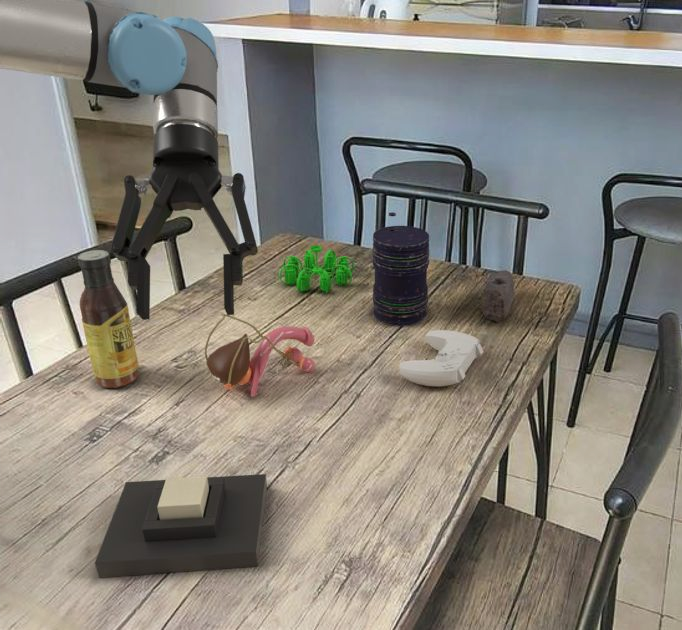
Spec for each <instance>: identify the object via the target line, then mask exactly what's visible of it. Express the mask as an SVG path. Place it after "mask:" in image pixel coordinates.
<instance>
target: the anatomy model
mask: <svg viewBox="0 0 682 630" xmlns="http://www.w3.org/2000/svg"><path fill="white" fill-rule="evenodd" d="M220 316H221V317H222V318H221V319H220V320H219V321H217V323H216V324H215V326H214V327H213V328H212V330H211V331H210V333H209V334H208V337H207V339H206V343H205V347H204V357H205V360H206V366H207V368H208V370H209V374H210V375H211V376H212V377H213V378H214V379H215V380H217V381H218V382H219V383H221V384H223V388H224V389H227V390H233V388H234V387H235V386H236V385H237V384H238V385H239V386H243V385H246V384H247V383H248V384H249V385H250V386H251V389H250V397H251V398H253V397H256V396H257V394H258V389H259V388H258V387H259V383H260V381H261V379H262V378H263V376H264V374H265V371H266V368H267V365H268V362H269V358H270V356H271V353H272V351H273V350H274V351H275V352H277V353H278V355H280V356H281V359H279V360H278V361H277V363H278V364H280V365H281V367H282V368H285V367H286V365H287V364H288V363H291V364H292V365H294V366H296V367H297V368H298V369H299V370H301V371H304V372H307V373H311V372H313V371H314V370H315V367H316V364H315V362H314V360H313V359H311V358H310V357H307V356H306V357H304V356H303V352H302V350H300V349H299V348H298V347H295V346H288V347H286V348H285V350H284V352H283V351H281V350H279V349H278V348H277V347H276V346H277V345H278V344H279V343H280V342H281V341H283V340H293V341H298V342H299V343H301V344H303V345H305V346H307V347H312V346H313V345H314V344H315V341H316V339H315V336H314V335H313V333H312V331H310V329H309V328H308V327H307V326H301V327H296V326H291V325H287V326H281V327H277V328H275V329H273V330H271V331H269V332H268V333H267V334H266V335H263V334H262V333H261V332H260V331H259V330H258V329H257V328H256V326H255V325H253V324H251V323H250V322H248V321H246V320H243V319H240V318H238V317H236V316H234V315H227V313H220ZM226 317H228V318H230V319H233V320H236V321H238V322H240V323H243V324H245V325H247V326H249V327H251V328H253V330H254V331H255V332H256V333H257V334H258V335H259V336H260V338H259V339H258V340H254V339H252V338H251V337H250V336H248V334H247V333H244V334H243V335H242V336H241V337H239V338H238V339H235V340H233V341H231V342H229V343H226V344H224V345H221V346H220V347H218V348H217V349H216V350H214V351H213V352H212V353H210V354H209V355H208V345H209V342H210V339H211V337H212V335H213V333H214V331H216V329H217V328H218V326H219V325H220V323H222V322H223V321H224V320H225V319H226ZM250 342H252V343H253V344H259V345H258V346H257V347H256V349H255V350H254V352H253V354H252V355H251V350H250Z"/></svg>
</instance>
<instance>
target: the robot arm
mask: <svg viewBox="0 0 682 630" xmlns="http://www.w3.org/2000/svg"><path fill="white" fill-rule="evenodd" d="M0 69H1V70H7V71H8V70H9V71H14V72H15V71H16V72H21V73H28V74H36V75H42V76H49V77H54V78H55V77H56V78H63V79H69V80H76V81H84V82H86V83H87V82H88V83H92V84H99V85H105V86H111V87H119V88H124V89H127V90H129V91H130V92H132V93H135V94H140V95H148V96H153V123H152V124H153V125H152V132H153V134H154V135H153V137H152V169H151V170H150V173H149V174H148V175H147V177H146V176H145V177H139V178H135V177H134V176H133V175H126V176H124V178H123V185H124V198H123V201H122V204H121V207H120V212H119V215H118V219H117V222H116V226H115V231H114V234H113V238H112V242H111V244H110V252H111V253H112V254H113V255H114V256H115V258H116V259H117V260H118V261H120V262H127V284H128V286H129V288H130V289H131V290H132V291H136V314H137V316H139V318H141V320H143V321H144V320H146V321H147V320H150V318H151V317H150V316H151V315H150V313H151V312H150V311H151V265H150V263H149V262H148V260H147V257H148V254H149V253H150V251H151V249H152V247H153V246H154V245H155V242H156V240H157V238H158V236H159V235H160V233H161V231H162V229H163V227H164V226H165V223H166V222H167V220H168V219H170V218H171V216H172V214H173V212H181V211H185V210H192V211H202V209H203V210H204V212H205V213H206V215H207V217H208V218H209V220H210V221H211V224H212V226H213V227H214V228H215V230H216V233H217V234H218V236H219V238H220V239H221V241H222V243H223V244H224V246H225V248H226V250H227V251H228V253H223V254H222V256H223V257H222V262H223V263H222V264H223V266H222V267H223V308H224V310H225V314H227V315H230V316H234V315H235V290H234V289H235V288H234V286H242V285H243V282H244V270H243V262H244V259H245V258H246V257H249V256H252V257H254V256H256V255H257V254H258V253H259V249H258V245H257V241H256V238H255V233H254V230H253V226H252V222H251V219H250V215H249V212H248V208H247V204H246V200H245V195H246V188H247V187H246V182H245V178H244V175H243V174H242V172H241V173H240V172H236V173H235V174H233V176H231V175H222V173H221V171H220V169H219V168H220V167H219V166H220V165H219V141H218V137H219V121H218V120H219V118H218V69H219V61H218V57H217V47H216V41H215V37H214V35H213V33H212V32H211V30H210V29H209V28H208V27H207V26H206V25H205V24H204V23H202V22H201V21H199V20H197V19H194V18H192V17H186V18H183V17H182V18H181V16H179V15H176V16H175V15H174V16H169V17H166V18H164V19H161V18H159V17H158V16H157V15H155V14H151V13H146V12H142V11H134V10H129V9H125V8H122V7H118V6H114V5H111V4H108V3H106V2H104V1H101V0H0ZM222 188H225V189H226V192H227V194H228V195H230V196H232V198H233V203H234V206H235V211H236V214H237V217H238V221H239V226H240V229H241V232H242V233H241V234H242V236H243V240H244V242H241V243H238V240H237V239H236V237H235V236H234V234H233V232H232V230H231V229H230V227H229V225H228V223H227V222H226V220H225V218H224V217H223V214H222V213H221V211H220V209H219V208H218V206H217V205H216V202H215V200H214V198H215V196H216V195H217V193H218V192H219V191H220V190H221V189H222ZM149 189H152V190H153V191H154V193H155V194H156V196H155V198H154V200H153V203H152V207H151V208H150V210H149V212H148V214H147V216H146V218H144V219H145V220H144V221H143V223H142V224H141V227H140V228H139V230H138V232H137V234H136V235H135V237H134V234H135V230H136V227H137V222H138V218H139V215H140V211H141V208H142V207H141V206H142V199H143V198H145V197H146V195H147V191H148V190H149ZM133 238H134V239H133Z"/></svg>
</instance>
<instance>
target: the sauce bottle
mask: <svg viewBox="0 0 682 630" xmlns="http://www.w3.org/2000/svg"><path fill="white" fill-rule="evenodd" d="M77 262H78V266H79V267H80V270H81V274H82V279H83V285H84V289H83V291H82V292H81V294H80V299H79V309H80V314H81V322H82V323H81V324H82V327H83V332H84V337H85V341H86V346H87V351H88V355H89V360H90V365H91V369H92V373H93V376H95V377H94V379H95V381H96V384H97V385H98V386H99V387H102V388H106V389H117V388H122V387H124V386H127V385H129V384H131V383H133V382H134V381H136V380H137V378H138V376H139V361H138V354H137V348H136V344H135V337H134V332H133V326H132V323H131V316H130V311H129V310H130V309H129V305H128V303H127V300H126V299H125V297H124V296H123V294H122V292H121V290H120V289H119V287H118V286H117V284H116V283H115V279H114V277H113V272H112V267H111V263H112V259H111V255H110V253H109V251H106V250H103V249H93V250H88V251H85V252H82V253H79V255H78V256H77Z"/></svg>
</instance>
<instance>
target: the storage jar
mask: <svg viewBox="0 0 682 630" xmlns="http://www.w3.org/2000/svg"><path fill="white" fill-rule="evenodd" d="M388 216H389V217H396V216H397V213H396V212H393V211H392V212H389V213H388ZM372 241H373V242H372V253H371V254H372V266H373V268H374V283H373V286H372V291H373V292H372V303H373V304H372V305H373V306H372V307H373V317H374V318H375V319H376V320H377V321H378V322H380V323H382V324H385V325H388V326H393V327H394V326H395V327H408V326H413V325H417V324H419V323H421V322H423V321H424V320H425V319H426V318H427V316H428V315H427V314H428V310H427V308H428V302H429V294H428V293H429V287H428V284H427V280H428V269H429V264H430V234H429V233H428V232H427V231H426V230H424V229H422V228H420V227H417V226H416V227H415V226H409V225H389V226H385V227H381V228H379V229H376V230H375V231H374V232H373V233H372Z"/></svg>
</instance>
